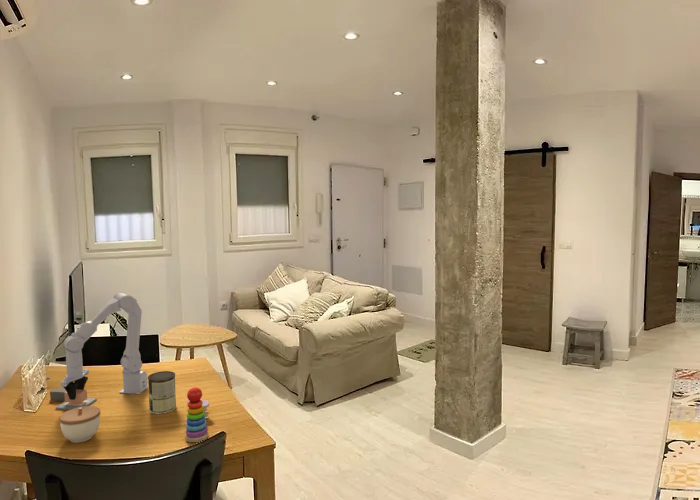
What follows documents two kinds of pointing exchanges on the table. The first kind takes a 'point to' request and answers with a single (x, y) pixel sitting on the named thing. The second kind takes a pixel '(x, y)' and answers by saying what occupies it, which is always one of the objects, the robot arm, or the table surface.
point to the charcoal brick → (58, 394)
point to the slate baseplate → (75, 404)
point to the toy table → (205, 405)
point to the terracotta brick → (77, 396)
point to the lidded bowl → (80, 423)
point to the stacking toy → (195, 417)
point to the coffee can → (162, 392)
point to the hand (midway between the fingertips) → (76, 397)
